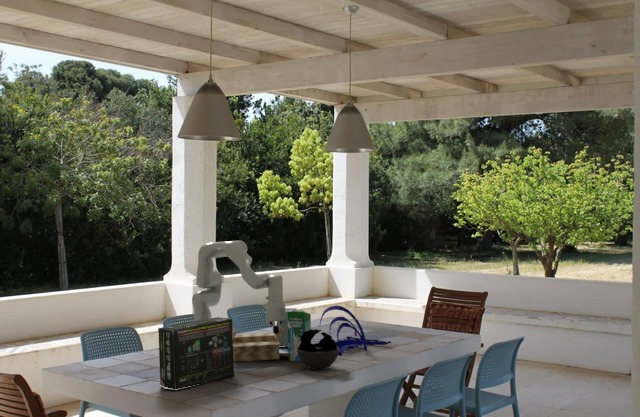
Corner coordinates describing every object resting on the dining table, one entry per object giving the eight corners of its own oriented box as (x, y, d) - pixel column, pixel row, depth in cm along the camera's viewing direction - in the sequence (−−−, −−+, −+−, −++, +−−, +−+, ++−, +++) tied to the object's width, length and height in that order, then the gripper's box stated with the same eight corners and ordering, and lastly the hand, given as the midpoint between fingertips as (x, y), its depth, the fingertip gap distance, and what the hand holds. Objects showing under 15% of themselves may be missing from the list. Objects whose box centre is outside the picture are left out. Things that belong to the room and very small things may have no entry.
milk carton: (311, 358, 382) (310, 309, 381) (305, 361, 373) (304, 311, 373) (294, 357, 385) (294, 308, 384) (288, 360, 376) (287, 311, 376)
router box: (219, 373, 352) (217, 316, 352) (235, 376, 345) (234, 318, 345) (157, 388, 325) (156, 327, 324) (173, 392, 318) (172, 329, 317)
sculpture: (392, 346, 406) (387, 299, 404) (350, 363, 381) (345, 313, 379) (344, 340, 430) (339, 296, 428) (302, 355, 405) (297, 308, 404)
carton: (233, 364, 369) (232, 346, 369) (228, 351, 401) (228, 335, 401) (281, 361, 374) (281, 343, 374) (273, 349, 406) (273, 332, 406)
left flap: (231, 342, 377) (235, 331, 377) (229, 336, 393) (233, 326, 394) (232, 342, 377) (236, 331, 377) (230, 336, 393) (234, 326, 394)
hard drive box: (290, 348, 408) (290, 311, 407) (277, 348, 409) (276, 311, 409) (297, 343, 423) (296, 307, 423) (284, 342, 424) (283, 307, 424)
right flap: (278, 339, 381) (283, 329, 382) (273, 333, 398) (278, 324, 398) (279, 340, 381) (284, 330, 382) (274, 334, 398) (279, 325, 398)
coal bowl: (298, 364, 366) (298, 326, 366) (339, 364, 366) (338, 325, 366) (296, 374, 346) (295, 333, 346) (339, 373, 346) (338, 333, 346)
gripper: (262, 300, 384) (262, 335, 384) (290, 299, 387) (291, 334, 387) (260, 298, 392) (261, 333, 392) (288, 297, 394) (289, 332, 394)
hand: (276, 333), depth 389 cm, fingers closed
